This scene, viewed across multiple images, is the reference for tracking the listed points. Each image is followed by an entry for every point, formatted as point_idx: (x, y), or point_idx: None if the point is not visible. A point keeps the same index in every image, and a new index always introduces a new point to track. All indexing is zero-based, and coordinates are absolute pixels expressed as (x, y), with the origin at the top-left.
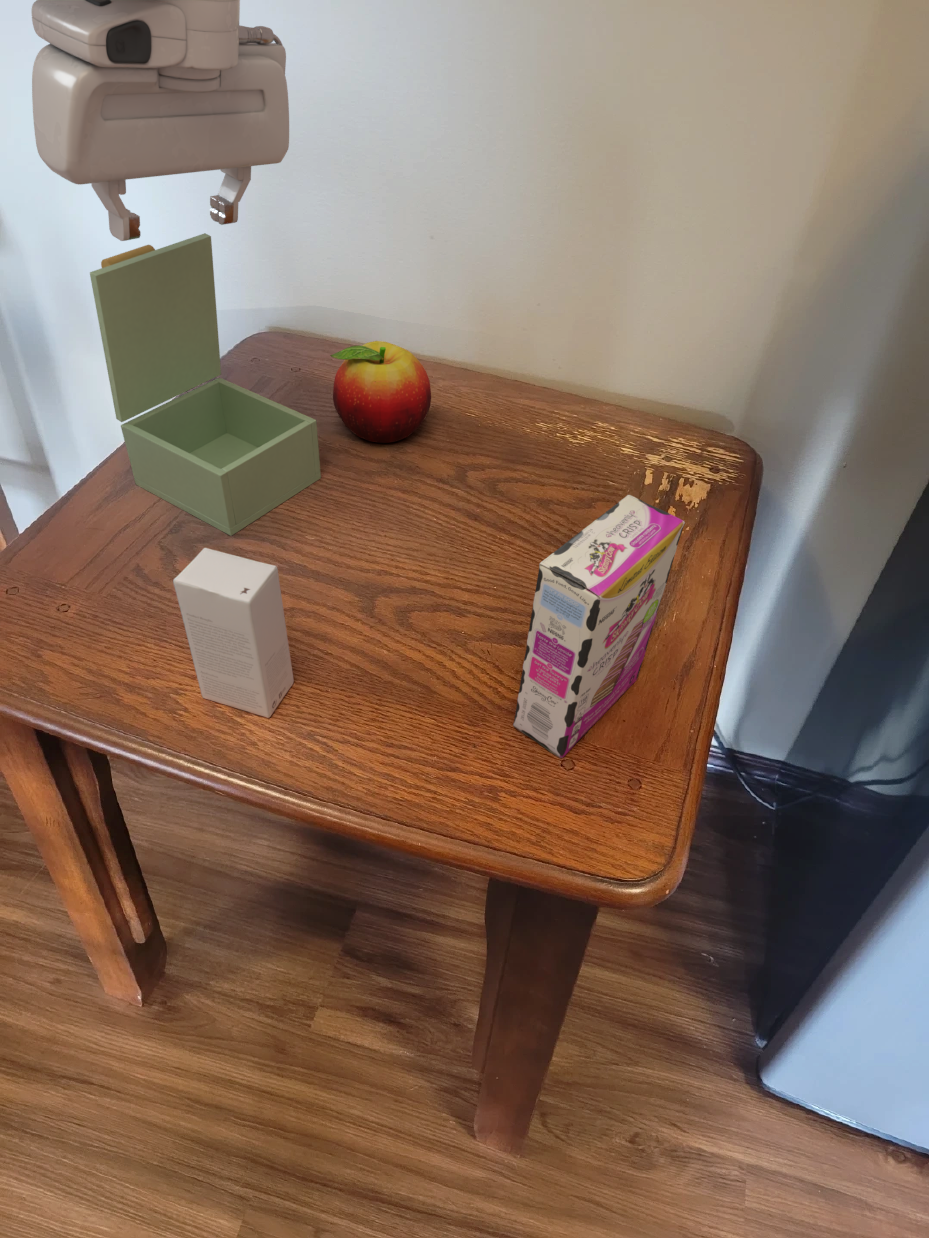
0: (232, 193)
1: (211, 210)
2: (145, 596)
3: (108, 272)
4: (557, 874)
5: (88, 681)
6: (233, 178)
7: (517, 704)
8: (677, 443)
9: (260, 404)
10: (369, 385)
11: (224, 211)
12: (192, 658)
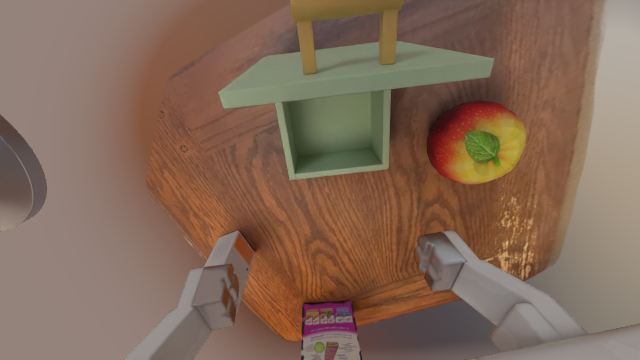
0: (471, 295)
1: (428, 244)
2: (226, 170)
3: (249, 105)
4: (272, 330)
5: (179, 200)
6: (508, 311)
7: (302, 316)
8: (526, 255)
9: (382, 113)
10: (451, 168)
11: (426, 278)
12: (210, 254)
